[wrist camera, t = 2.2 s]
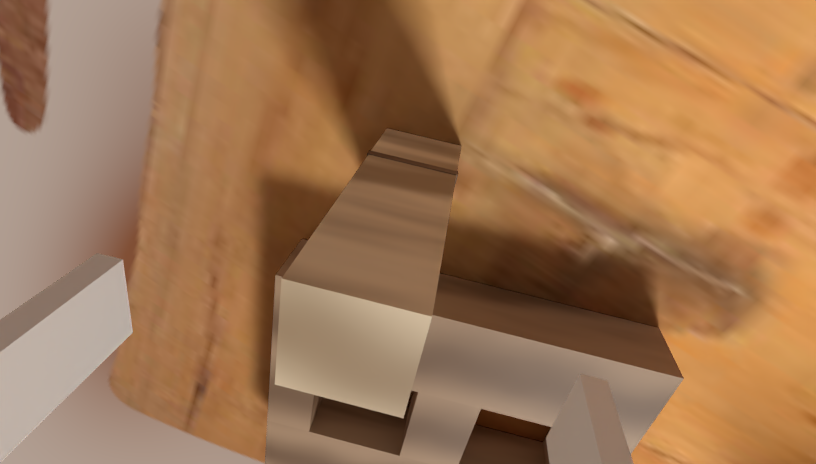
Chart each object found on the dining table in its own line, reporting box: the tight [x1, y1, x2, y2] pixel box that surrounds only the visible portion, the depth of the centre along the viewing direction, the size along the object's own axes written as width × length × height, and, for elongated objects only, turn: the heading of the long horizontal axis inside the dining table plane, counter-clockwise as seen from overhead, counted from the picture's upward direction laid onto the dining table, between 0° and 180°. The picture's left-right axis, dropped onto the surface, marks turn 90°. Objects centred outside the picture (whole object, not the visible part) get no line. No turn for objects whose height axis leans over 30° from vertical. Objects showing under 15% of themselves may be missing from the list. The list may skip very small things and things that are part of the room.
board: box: [265, 239, 684, 464], centre depth 30 cm, size 18×22×4 cm
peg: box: [275, 128, 461, 418], centre depth 19 cm, size 4×4×14 cm
